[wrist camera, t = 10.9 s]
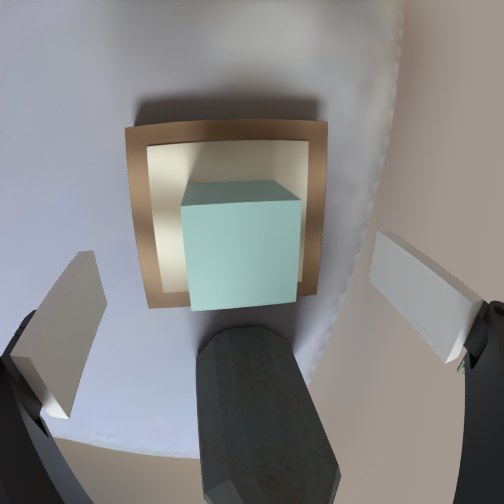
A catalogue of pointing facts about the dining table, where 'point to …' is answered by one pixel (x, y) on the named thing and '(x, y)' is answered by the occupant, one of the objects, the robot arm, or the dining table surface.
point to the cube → (240, 243)
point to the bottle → (259, 424)
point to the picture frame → (219, 170)
